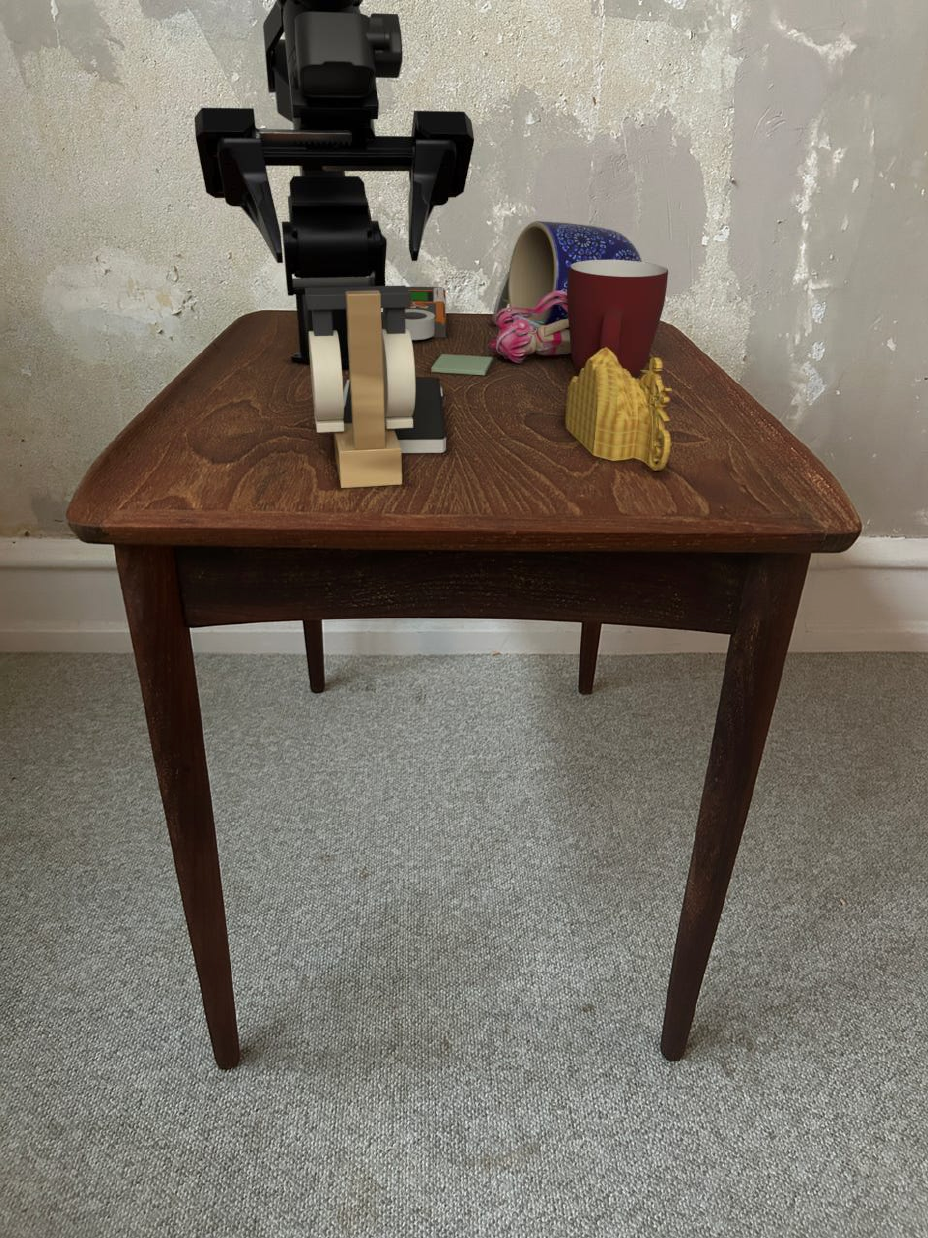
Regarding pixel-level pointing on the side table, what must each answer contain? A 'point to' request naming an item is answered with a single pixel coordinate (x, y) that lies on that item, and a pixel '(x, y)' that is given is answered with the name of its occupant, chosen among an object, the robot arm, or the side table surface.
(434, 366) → the felt mat
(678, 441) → the side table surface
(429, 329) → the electronic device
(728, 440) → the side table surface
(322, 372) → the headphones
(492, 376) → the side table surface
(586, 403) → the figurine
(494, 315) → the figurine
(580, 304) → the mug
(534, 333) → the toy
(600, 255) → the planter
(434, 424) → the smartphone
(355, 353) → the hook stand
